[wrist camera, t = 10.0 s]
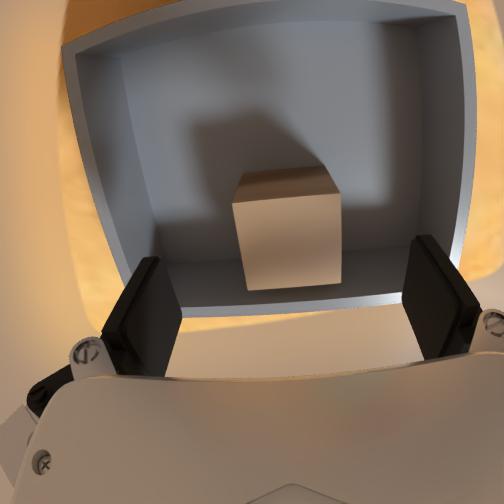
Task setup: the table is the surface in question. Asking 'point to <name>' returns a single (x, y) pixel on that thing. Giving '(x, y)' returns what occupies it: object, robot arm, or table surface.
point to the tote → (277, 136)
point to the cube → (289, 228)
